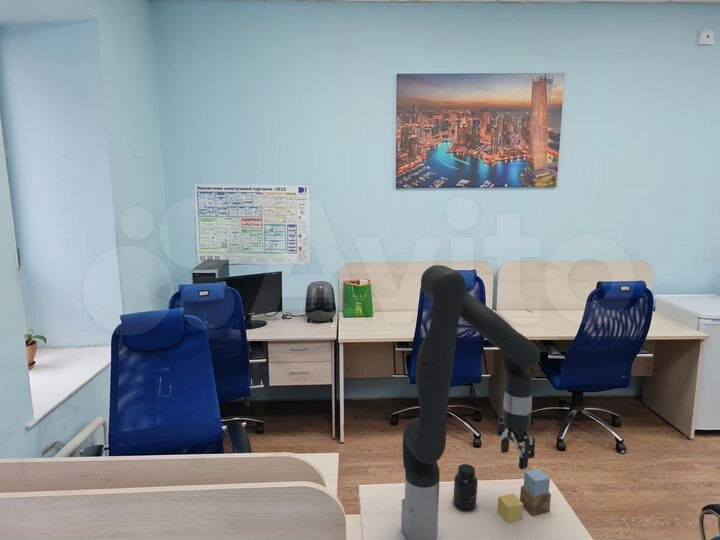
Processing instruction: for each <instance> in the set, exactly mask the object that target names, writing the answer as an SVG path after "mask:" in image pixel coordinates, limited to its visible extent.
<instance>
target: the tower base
mask: <svg viewBox="0 0 720 540" xmlns="http://www.w3.org/2000/svg"><path fill="white" fill-rule="evenodd" d="M519 495H520V496H519V500H520V501H521V502H522V503H523V509H524V510H525V511H526V512H527V513H528V514H529V515H530V516H531V517H535V516H540V515H543V514H547V513H550V510H551V498H552V493H551V492H549V493H548V494H544V495H540V496H536V497H534V496H533V495H532V494H531V493H530V492H529V491H528V490H527V489H525V488H524V484H523V485H520V493H519Z"/></svg>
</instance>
